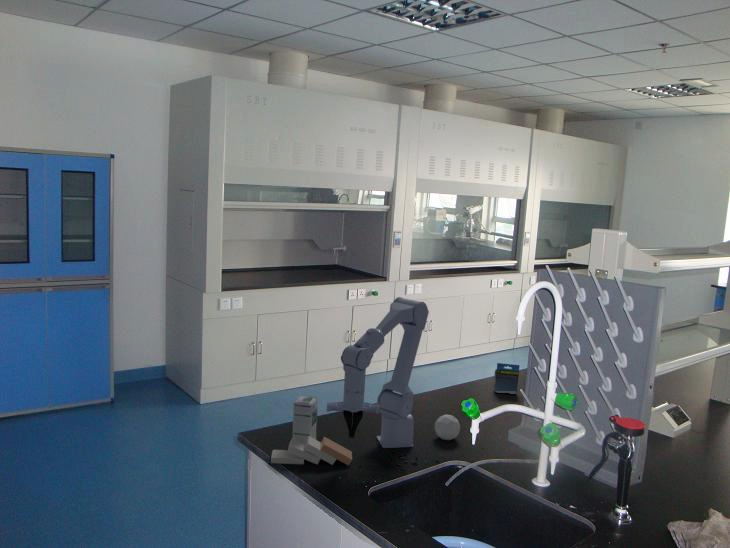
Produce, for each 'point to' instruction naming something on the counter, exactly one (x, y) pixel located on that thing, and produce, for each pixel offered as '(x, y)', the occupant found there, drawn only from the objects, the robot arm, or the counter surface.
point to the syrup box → (305, 418)
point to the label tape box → (506, 377)
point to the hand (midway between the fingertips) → (351, 436)
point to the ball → (447, 427)
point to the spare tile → (336, 451)
